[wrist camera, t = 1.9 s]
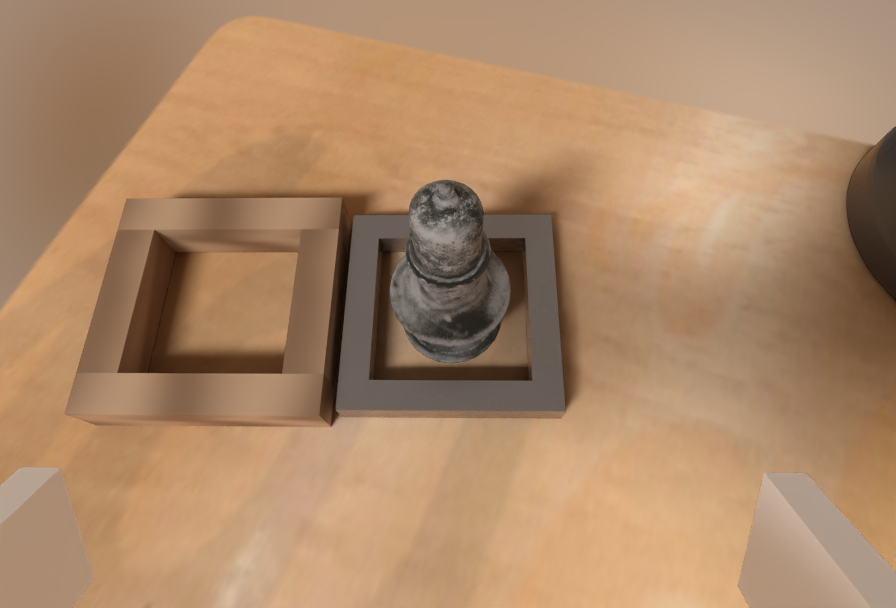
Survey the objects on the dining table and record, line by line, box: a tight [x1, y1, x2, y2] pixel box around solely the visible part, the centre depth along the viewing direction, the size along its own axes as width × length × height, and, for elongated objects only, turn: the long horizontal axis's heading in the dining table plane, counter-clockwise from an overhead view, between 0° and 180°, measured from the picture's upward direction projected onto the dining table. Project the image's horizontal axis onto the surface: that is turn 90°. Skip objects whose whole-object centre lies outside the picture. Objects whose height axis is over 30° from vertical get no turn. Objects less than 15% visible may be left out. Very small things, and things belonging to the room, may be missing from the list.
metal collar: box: [336, 214, 566, 418], centre depth 30 cm, size 11×11×2 cm
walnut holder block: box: [65, 197, 351, 427], centre depth 30 cm, size 12×12×2 cm
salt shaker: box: [390, 180, 511, 363], centre depth 25 cm, size 6×6×12 cm
